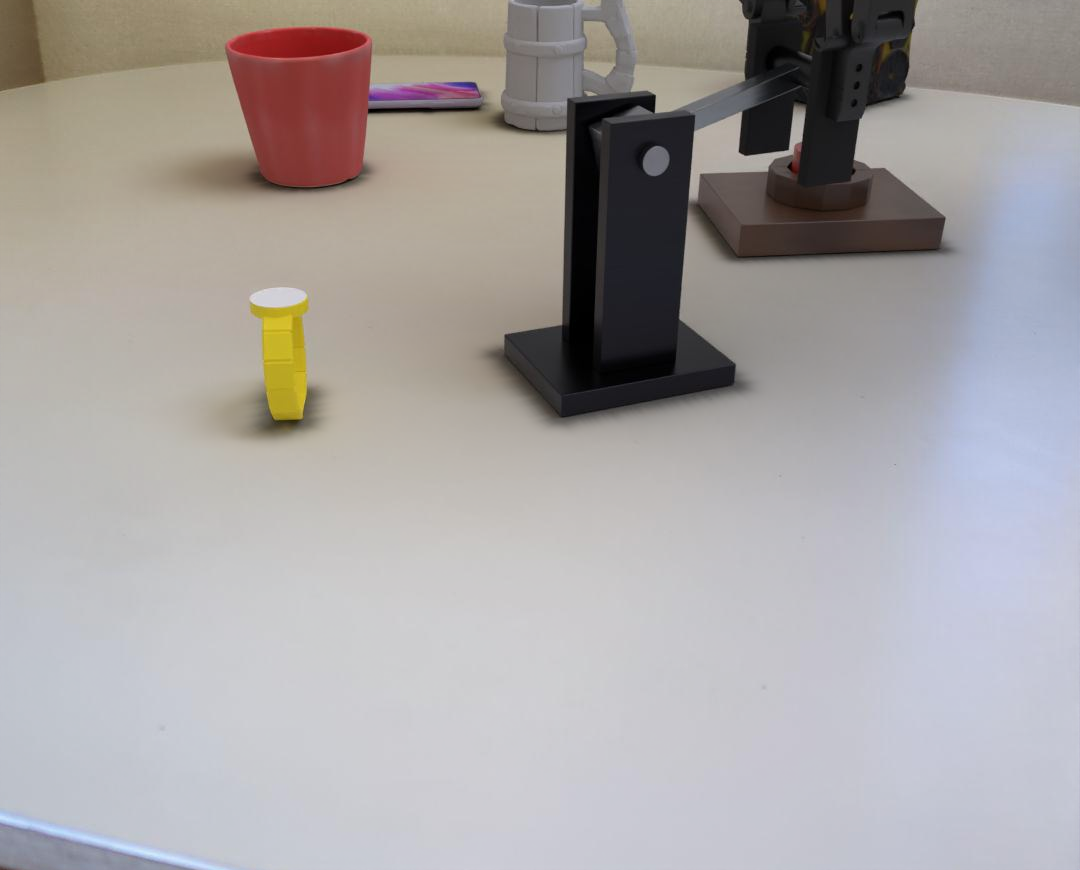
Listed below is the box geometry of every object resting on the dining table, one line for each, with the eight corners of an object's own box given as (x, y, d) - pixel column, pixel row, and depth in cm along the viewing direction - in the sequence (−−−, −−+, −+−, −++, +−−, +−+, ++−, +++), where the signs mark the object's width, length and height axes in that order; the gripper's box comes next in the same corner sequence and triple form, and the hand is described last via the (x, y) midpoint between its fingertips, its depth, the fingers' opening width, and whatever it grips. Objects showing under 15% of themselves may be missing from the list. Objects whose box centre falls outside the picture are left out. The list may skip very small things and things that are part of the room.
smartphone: (317, 84, 113) (476, 81, 115) (318, 94, 113) (477, 90, 115) (315, 102, 107) (483, 98, 109) (316, 112, 107) (484, 108, 109)
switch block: (880, 196, 90) (889, 142, 88) (940, 249, 81) (952, 190, 79) (697, 203, 88) (701, 147, 86) (737, 257, 79) (743, 197, 77)
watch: (315, 436, 59) (302, 322, 55) (257, 437, 58) (241, 323, 55) (322, 380, 64) (311, 273, 60) (269, 382, 63) (255, 274, 60)
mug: (508, 107, 110) (508, -37, 104) (637, 113, 109) (645, -32, 102) (493, 129, 104) (491, -23, 97) (629, 137, 103) (637, -17, 96)
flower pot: (214, 186, 90) (194, 49, 85) (282, 147, 99) (268, 20, 94) (343, 201, 88) (332, 61, 82) (401, 160, 96) (395, 30, 91)
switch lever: (791, 77, 63) (786, 31, 61) (847, 100, 59) (843, 51, 58) (586, 163, 61) (576, 118, 59) (630, 193, 57) (620, 145, 56)
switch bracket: (664, 326, 70) (682, 78, 62) (734, 384, 64) (764, 117, 56) (503, 353, 67) (501, 95, 59) (561, 417, 61) (568, 138, 53)
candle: (823, 76, 122) (838, -33, 116) (907, 96, 115) (927, -18, 110) (756, 91, 116) (767, -22, 110) (840, 113, 110) (857, -6, 104)
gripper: (674, -385, 56) (649, 129, 69) (921, -422, 42) (830, 231, 55) (813, -381, 58) (763, 115, 71) (1089, -414, 44) (964, 210, 57)
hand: (792, 165), depth 63 cm, fingers closed on switch lever, 5 cm apart
